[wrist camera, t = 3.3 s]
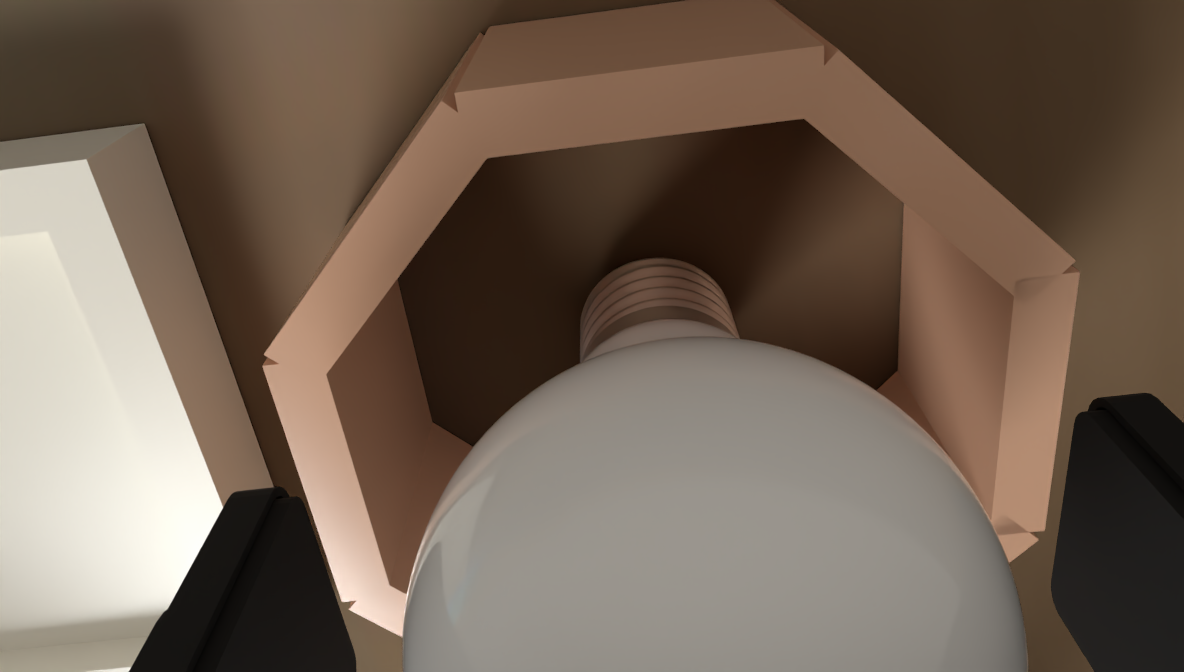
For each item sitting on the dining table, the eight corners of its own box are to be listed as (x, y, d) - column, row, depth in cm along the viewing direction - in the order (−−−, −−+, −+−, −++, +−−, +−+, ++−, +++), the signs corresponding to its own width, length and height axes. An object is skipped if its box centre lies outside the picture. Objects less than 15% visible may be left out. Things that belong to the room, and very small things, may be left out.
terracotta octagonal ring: (965, -37, 14) (1116, 8, 10) (931, 508, 19) (1023, 682, 15) (290, 52, 15) (181, 127, 11) (428, 560, 20) (389, 741, 16)
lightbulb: (416, 228, 16) (159, 812, 6) (759, 78, 15) (1097, 505, 5) (568, 494, 19) (553, 1187, 9) (868, 383, 18) (1223, 1043, 8)
